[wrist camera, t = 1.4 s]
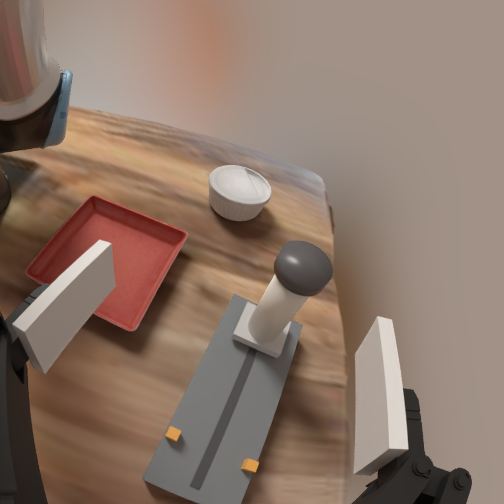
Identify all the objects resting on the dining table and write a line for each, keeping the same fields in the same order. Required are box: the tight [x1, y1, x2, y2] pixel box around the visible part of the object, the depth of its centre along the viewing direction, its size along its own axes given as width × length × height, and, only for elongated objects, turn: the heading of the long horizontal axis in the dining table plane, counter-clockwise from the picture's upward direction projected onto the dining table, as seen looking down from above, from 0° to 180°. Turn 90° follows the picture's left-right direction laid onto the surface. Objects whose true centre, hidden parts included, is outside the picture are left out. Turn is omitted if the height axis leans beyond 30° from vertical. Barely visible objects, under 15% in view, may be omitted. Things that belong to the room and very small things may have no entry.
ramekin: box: [209, 165, 272, 221], centre depth 56 cm, size 11×11×5 cm
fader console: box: [142, 294, 302, 504], centre depth 32 cm, size 26×10×4 cm, turn 160°
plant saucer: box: [25, 195, 188, 332], centre depth 41 cm, size 18×18×3 cm
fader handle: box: [231, 241, 333, 358], centre depth 33 cm, size 5×6×14 cm
